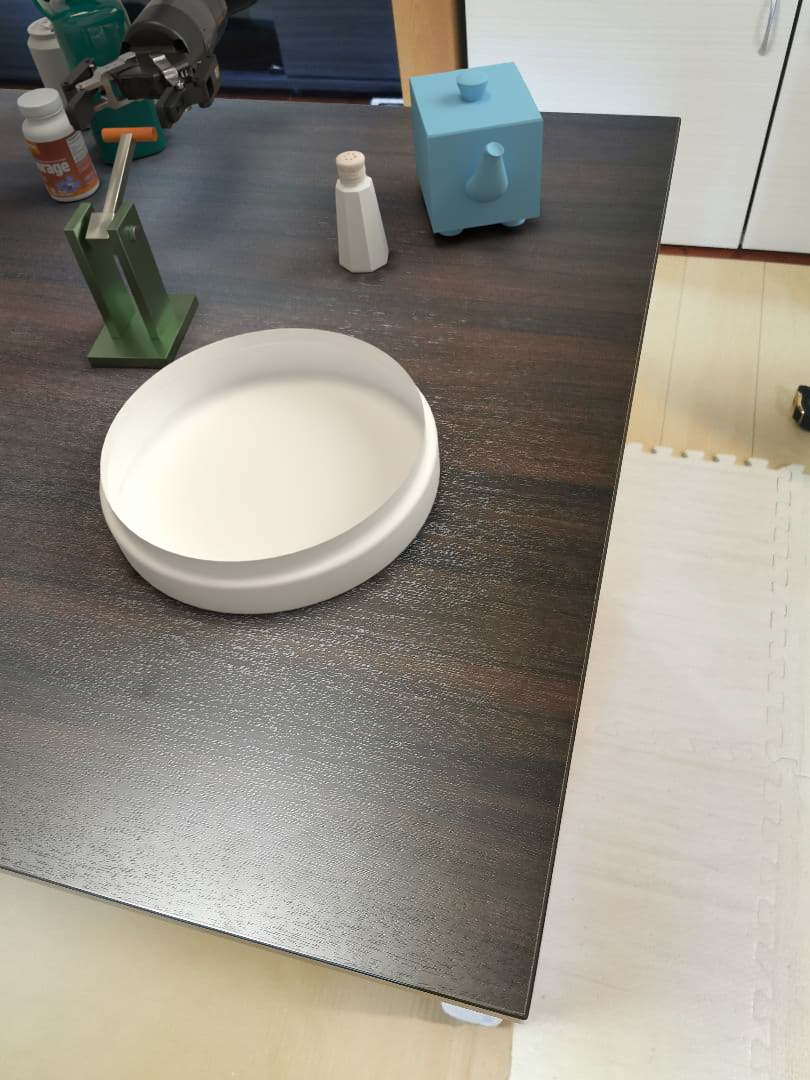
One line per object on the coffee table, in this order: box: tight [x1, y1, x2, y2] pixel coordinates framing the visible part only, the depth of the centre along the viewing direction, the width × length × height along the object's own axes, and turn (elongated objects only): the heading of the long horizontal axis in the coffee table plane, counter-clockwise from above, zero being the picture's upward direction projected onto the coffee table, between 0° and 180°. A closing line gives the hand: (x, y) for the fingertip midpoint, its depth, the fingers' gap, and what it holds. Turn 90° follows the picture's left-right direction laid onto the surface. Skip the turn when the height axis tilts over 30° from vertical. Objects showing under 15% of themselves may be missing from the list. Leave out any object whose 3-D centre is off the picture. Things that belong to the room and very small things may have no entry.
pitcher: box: [31, 0, 168, 165], centre depth 100 cm, size 10×8×22 cm
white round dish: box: [99, 327, 441, 615], centre depth 67 cm, size 27×27×6 cm
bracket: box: [62, 201, 200, 369], centre depth 78 cm, size 10×8×13 cm
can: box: [26, 16, 90, 130], centre depth 110 cm, size 8×8×12 cm
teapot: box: [408, 61, 544, 237], centre depth 86 cm, size 22×11×14 cm, turn 7°
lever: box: [86, 127, 157, 257], centre depth 76 cm, size 13×5×2 cm, turn 172°
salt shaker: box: [334, 150, 390, 274], centre depth 84 cm, size 5×5×11 cm
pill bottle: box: [16, 87, 100, 203], centre depth 98 cm, size 6×6×11 cm
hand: (117, 119), depth 76 cm, fingers open, 8 cm apart
